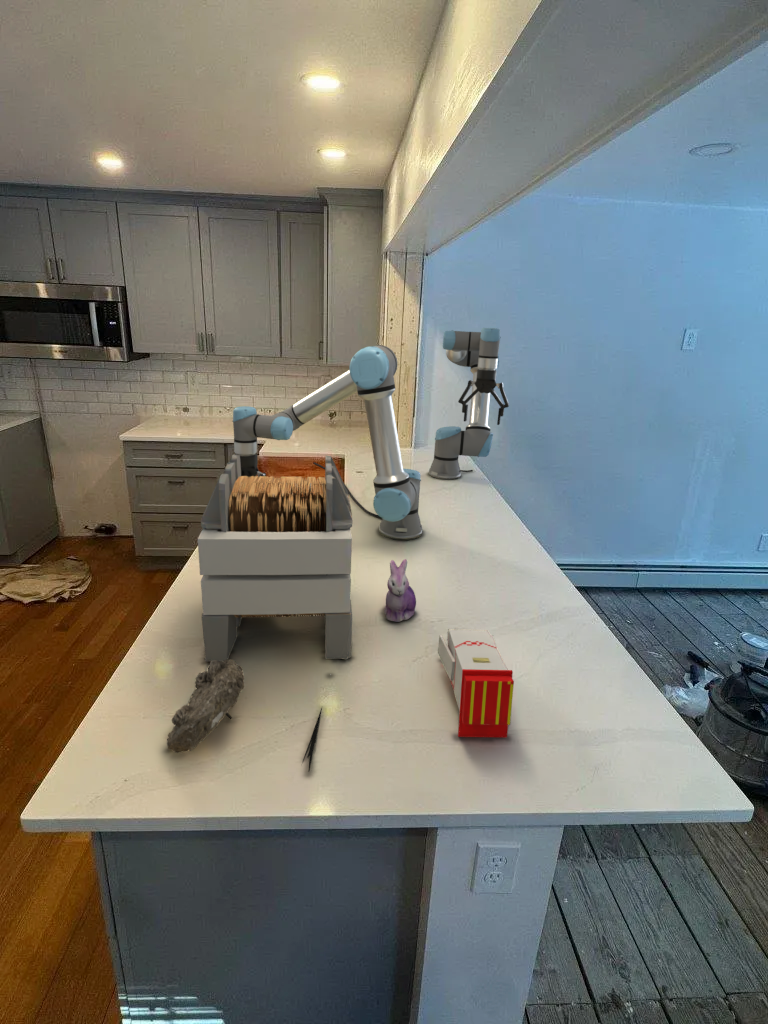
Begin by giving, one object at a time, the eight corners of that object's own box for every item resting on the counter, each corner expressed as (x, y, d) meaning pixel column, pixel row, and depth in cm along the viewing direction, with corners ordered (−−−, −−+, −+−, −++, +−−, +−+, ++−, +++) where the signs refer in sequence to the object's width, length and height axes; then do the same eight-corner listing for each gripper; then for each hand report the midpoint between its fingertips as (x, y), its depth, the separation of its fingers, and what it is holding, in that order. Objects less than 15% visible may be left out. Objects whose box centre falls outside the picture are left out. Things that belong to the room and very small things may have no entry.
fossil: (192, 660, 117) (244, 628, 112) (224, 691, 120) (276, 661, 115) (142, 746, 98) (202, 712, 93) (182, 779, 101) (242, 748, 96)
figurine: (392, 627, 141) (395, 572, 136) (374, 608, 149) (376, 556, 144) (425, 619, 145) (429, 566, 140) (405, 601, 154) (408, 550, 149)
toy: (488, 613, 130) (523, 677, 101) (484, 667, 133) (517, 744, 104) (435, 612, 130) (455, 676, 101) (432, 666, 133) (451, 743, 103)
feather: (331, 679, 122) (336, 673, 122) (307, 777, 96) (313, 769, 95) (324, 675, 122) (329, 669, 121) (298, 772, 95) (304, 764, 95)
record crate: (225, 590, 155) (217, 445, 141) (345, 589, 159) (348, 447, 145) (202, 664, 123) (188, 485, 110) (352, 660, 127) (356, 487, 113)
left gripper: (275, 454, 191) (276, 518, 199) (228, 447, 196) (231, 511, 204) (264, 459, 184) (266, 525, 192) (215, 452, 189) (219, 517, 197)
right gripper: (520, 370, 223) (513, 424, 231) (457, 366, 230) (453, 418, 237) (518, 372, 217) (511, 427, 224) (454, 367, 224) (449, 421, 231)
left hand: (248, 518), depth 198 cm, fingers closed on pill bottle, 5 cm apart
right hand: (481, 422), depth 231 cm, fingers open, 13 cm apart
